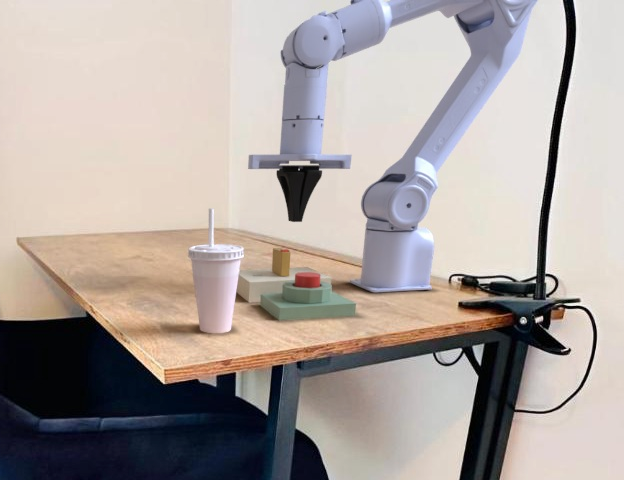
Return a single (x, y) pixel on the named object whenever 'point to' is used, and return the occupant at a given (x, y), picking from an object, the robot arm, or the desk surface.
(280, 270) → the thumbturn
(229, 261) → the smoothie
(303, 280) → the lock button
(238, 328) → the desk surface
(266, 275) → the plate
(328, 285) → the green square plate
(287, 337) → the desk surface
